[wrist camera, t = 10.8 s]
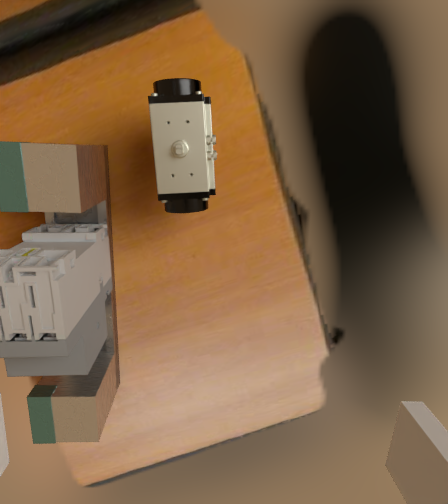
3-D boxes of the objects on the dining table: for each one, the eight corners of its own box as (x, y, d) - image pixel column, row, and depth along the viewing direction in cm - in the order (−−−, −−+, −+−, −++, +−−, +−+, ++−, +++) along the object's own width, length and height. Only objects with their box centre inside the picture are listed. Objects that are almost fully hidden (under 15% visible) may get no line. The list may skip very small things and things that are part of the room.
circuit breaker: (56, 333, 45) (-13, 420, 31) (41, 223, 41) (-46, 264, 27) (116, 333, 46) (75, 418, 31) (107, 223, 42) (56, 264, 27)
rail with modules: (44, 142, 41) (-10, 141, 31) (107, 145, 41) (75, 144, 31) (68, 383, 50) (33, 443, 40) (120, 383, 50) (98, 442, 40)
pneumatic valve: (170, 199, 43) (158, 218, 32) (161, 95, 40) (143, 74, 28) (216, 197, 44) (220, 215, 32) (210, 93, 40) (212, 71, 29)
